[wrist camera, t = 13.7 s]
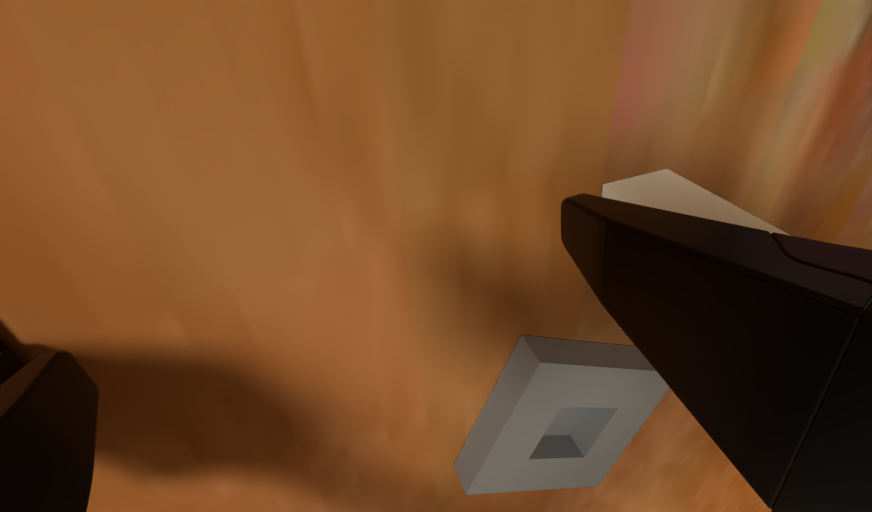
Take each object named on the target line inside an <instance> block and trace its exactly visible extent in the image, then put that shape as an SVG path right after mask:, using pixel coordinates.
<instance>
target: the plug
mask: <svg viewBox="0 0 872 512" xmlns="http://www.w3.org/2000/svg"><path fill="white" fill-rule="evenodd" d="M602 197H604V198H608V199H613V200H618V201H623V202H628V203H633V204H638V205H643V206H648V207H653V208H658V209H662V210H667V211H672V212H677V213H682V214H687V215H692V216H697V217H702V218H707V219H711V220H716V221H721V222H726V223H731V224H736V225H741V226H746V227H751V228H756V229H761V230H765V231H769V232H770V234H771V233H773V232H776V233H781V234H786V235H789V234H788V233H786V232H784V231H782V230H780V229H778V228H776V227H775V226H773V225H771V224H769V223H767V222H765V221H763V220H762V219H760V218H758V217H756V216H754V215H752V214H750V213H749V212H747V211H745V210H743V209H741V208H739V207H737V206H736V205H734V204H732V203H730V202H728V201H726V200H724V199H723V198H721V197H719V196H717V195H715V194H713V193H711V192H710V191H708V190H706V189H704V188H702V187H700V186H698V185H697V184H695V183H693V182H691V181H689V180H687V179H685V178H684V177H682V176H680V175H678V174H676V173H674V172H672V171H671V170H669V169H663V170H659V171H655V172H651V173H647V174H643V175H638V176H634V177H630V178H626V179H622V180H618V181H614V182H610V183H606V184H603V189H602ZM790 236H791V235H790Z"/></svg>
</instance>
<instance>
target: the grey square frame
mask: <svg viewBox="0 0 872 512" xmlns="http://www.w3.org/2000/svg"><path fill="white" fill-rule="evenodd" d="M669 388H670V387H669V386H668V385H667V383H666V382H665V381H664V380H663V378H662V377H661V376H660V375H659V374H658V372H657V371H656V370H655V369H654V368H653V366H652V365H651V364H650V363H649V361H648V360H647V359H646V358H645V357H644V355H643V354H642V353H641V352H640V350H639V349H638V348H637V347H636V346H626V345H616V344H606V343H596V342H586V341H576V340H566V339H556V338H546V337H536V336H526V335H521V337H520V339H519V341H518V343H517V345H516V347H515V348H514V350H513V352H512V354H511V356H510V358H509V360H508V362H507V364H506V366H505V368H504V369H503V371H502V373H501V375H500V377H499V379H498V381H497V383H496V385H495V387H494V388H493V390H492V392H491V394H490V396H489V398H488V400H487V402H486V404H485V406H484V407H483V409H482V411H481V413H480V415H479V417H478V419H477V421H476V423H475V425H474V426H473V428H472V430H471V432H470V434H469V436H468V438H467V440H466V442H465V444H464V445H463V447H462V449H461V451H460V453H459V455H458V457H457V459H456V461H455V463H454V465H455V468H456V471H457V473H458V476H459V478H460V481H461V484H462V486H463V489H464V492H465V494H466V495H473V494H488V493H504V492H519V491H534V490H549V489H564V488H580V487H595V486H598V485H599V484H600V483H601V481H602V480H603V478H604V477H605V476H606V474H607V473H608V472H609V470H610V469H611V467H612V466H613V465H614V463H615V462H616V461H617V459H618V458H619V457H620V455H621V454H622V452H623V451H624V450H625V448H626V447H627V446H628V444H629V443H630V441H631V440H632V439H633V437H634V436H635V435H636V433H637V432H638V430H639V429H640V428H641V426H642V425H643V424H644V422H645V421H646V420H647V418H648V417H649V415H650V414H651V413H652V411H653V410H654V409H655V407H656V406H657V404H658V403H659V402H660V400H661V399H662V398H663V396H664V395H665V393H666V392H667V391H668V389H669Z"/></svg>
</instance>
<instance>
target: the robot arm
mask: <svg viewBox="0 0 872 512" xmlns="http://www.w3.org/2000/svg"><path fill="white" fill-rule="evenodd" d="M561 238H562V242H563V244H564V246H565V248H566V250H567V251H568V253H569V254H570V256H571V258H572V259H573V261H574V262H575V264H576V265H577V267H578V269H579V270H580V272H581V273H582V275H583V276H584V278H585V279H586V281H587V283H588V284H589V286H590V287H591V289H592V290H593V292H594V294H595V295H596V296H597V298H598V299H599V301H600V302H601V304H602V305H603V306H604V308H605V309H606V310H607V311H608V313H609V314H610V315H611V316H612V318H613V319H614V320H615V321H616V322H617V324H618V325H619V326H620V327H621V328H622V330H623V331H624V332H625V333H626V335H627V336H628V337H629V338H630V339H631V341H632V342H633V343H634V344H635V346H636V347H637V348H638V349H639V350H640V352H641V353H642V354H643V355H644V357H645V358H646V359H647V360H648V361H649V363H650V364H651V365H652V366H653V368H654V369H655V370H656V371H657V372H658V374H659V375H660V376H661V377H662V378H663V380H664V381H665V382H666V383H667V385H668V386H669V387H670V388H671V389H672V391H673V392H674V393H675V394H676V396H677V397H678V398H679V399H680V400H681V402H682V403H683V404H684V405H685V407H686V408H687V409H688V410H689V411H690V413H691V414H692V415H693V416H694V417H695V419H696V420H697V421H698V422H699V424H700V425H701V426H702V427H703V428H704V430H705V431H706V432H707V433H708V435H709V436H710V437H711V438H712V439H713V441H714V442H715V443H716V444H717V446H718V447H719V448H720V449H721V450H722V452H723V453H724V454H725V455H726V456H727V458H728V459H729V460H730V461H731V463H732V464H733V465H734V466H735V467H736V469H737V470H738V471H739V472H740V474H741V475H742V476H743V477H744V478H745V480H746V481H747V482H748V483H749V485H750V486H751V487H752V488H753V489H754V491H755V492H756V493H757V494H758V496H759V497H760V498H761V499H762V500H763V502H764V503H765V504H766V505H767V506H768V508H770V509H772V510H771V511H772V512H872V250H868V249H862V248H856V247H850V246H844V245H838V244H832V243H827V242H821V241H816V240H811V239H806V238H800V237H795V236H790V235H786V234H781V233H776V232H773V233H771V234H770V232H769V231H765V230H761V229H756V228H751V227H746V226H741V225H736V224H731V223H726V222H721V221H716V220H711V219H707V218H702V217H697V216H692V215H687V214H682V213H677V212H672V211H667V210H662V209H658V208H653V207H648V206H643V205H638V204H633V203H628V202H623V201H618V200H613V199H608V198H604V197H599V196H594V195H589V194H578V195H574V196H571V197H568V198H565V199H564V200H563V201H562V204H561ZM98 402H99V392H98V387H97V385H96V383H95V381H94V380H93V379H92V377H91V376H90V375H89V374H88V373H87V371H86V370H85V369H84V368H83V367H82V366H81V364H80V363H79V362H78V361H77V360H76V358H75V357H74V356H73V355H72V354H71V353H69V352H68V351H63V350H60V351H56V352H53V353H49V354H46V355H43V356H39V357H37V358H35V359H33V360H32V361H31V362H29V363H28V364H27V365H26V366H25V365H24V364H23V363H22V362H21V361H20V360H19V359H18V358H17V357H16V356H15V355H14V354H13V353H12V352H11V351H10V350H9V349H8V348H7V347H6V346H5V345H4V344H3V342H2V341H1V340H0V512H86V511H87V506H88V501H89V496H90V490H91V484H92V478H93V469H94V459H95V444H96V430H97V416H98Z"/></svg>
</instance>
